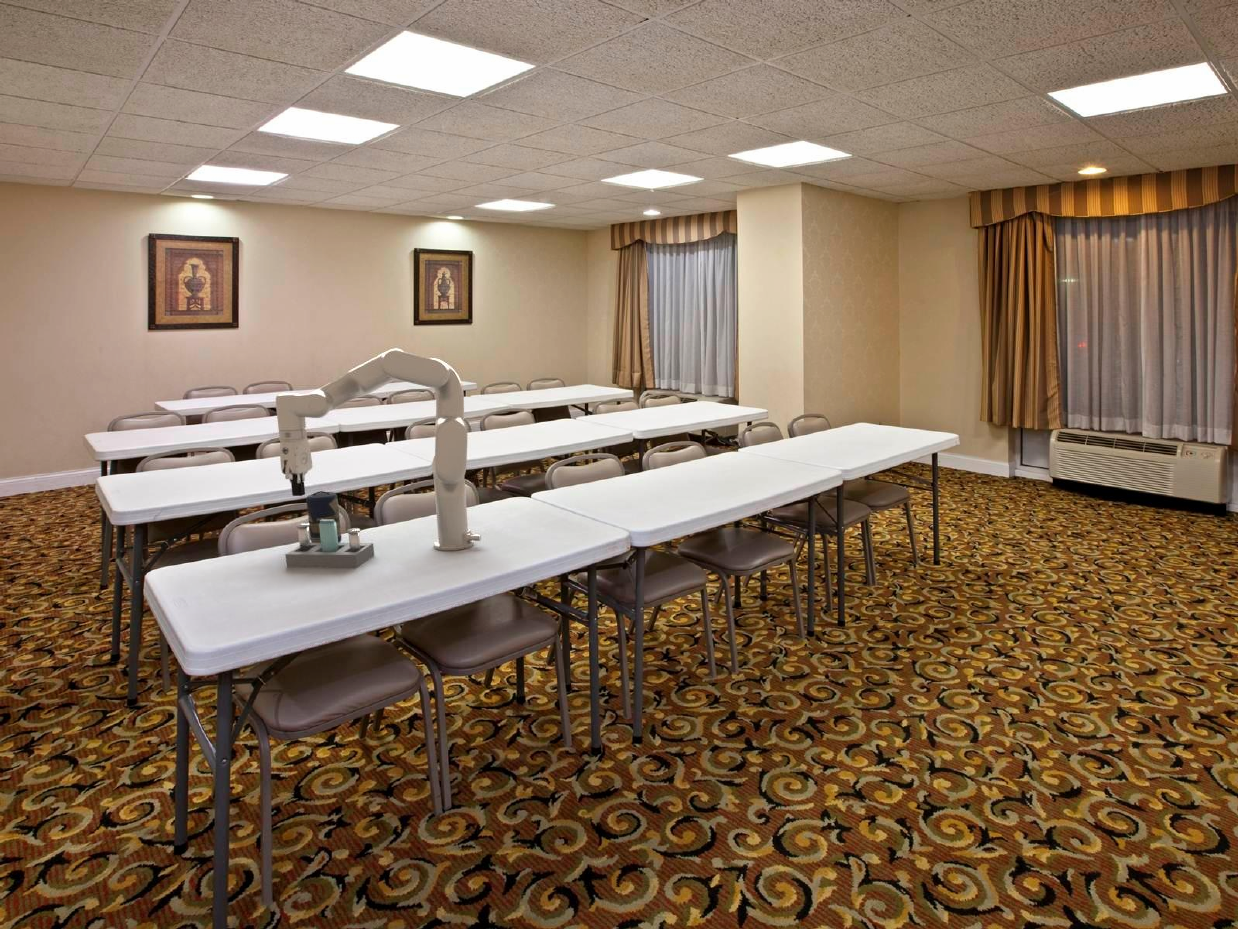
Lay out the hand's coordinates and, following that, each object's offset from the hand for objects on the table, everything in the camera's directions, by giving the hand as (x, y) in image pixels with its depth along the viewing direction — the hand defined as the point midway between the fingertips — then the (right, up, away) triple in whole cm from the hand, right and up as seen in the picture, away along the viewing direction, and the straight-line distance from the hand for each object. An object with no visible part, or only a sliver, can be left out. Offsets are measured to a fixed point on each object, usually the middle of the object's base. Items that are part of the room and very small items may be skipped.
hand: (298, 495), depth 224 cm
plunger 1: (+1, -17, +3) cm, 18 cm away
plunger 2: (+17, -19, +2) cm, 25 cm away
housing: (+9, -20, +3) cm, 22 cm away
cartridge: (+9, -20, +3) cm, 22 cm away
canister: (0, -17, +21) cm, 27 cm away
